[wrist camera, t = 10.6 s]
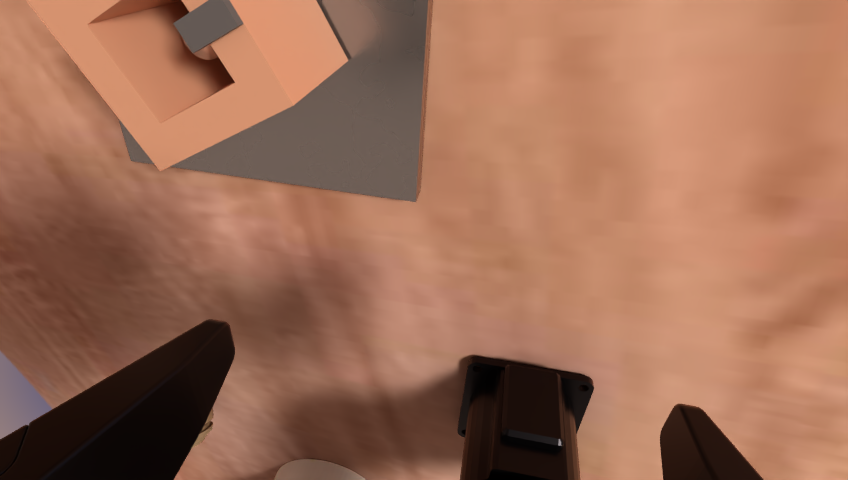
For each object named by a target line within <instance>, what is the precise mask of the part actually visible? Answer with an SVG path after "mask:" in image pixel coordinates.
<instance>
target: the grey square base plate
mask: <svg viewBox="0 0 848 480" xmlns="http://www.w3.org/2000/svg"><path fill="white" fill-rule="evenodd" d="M316 1H317V2H318V4H319V6H320V8H321V10H322V12H323V14H324V16H325V17H326V19H327V21H328V23H329V25H330V27H331V29H332V31H333V33H334V34H335V36H336V38H337V40H338V42H339V44H340V46H341V48H342V49H343V51H344V53H345V55H346V57H347V59H348V61H347V62H346V63H345V64H344V65H343V66H341V67H340V68H339V69H338V70H336V71H335V72H334V73H333V74H332V75H330V76H329V77H328V78H327V79H325V80H324V81H323V82H322V83H321V84H319V85H318V86H317V87H316V88H314V89H313V90H312V91H311V92H309V93H308V94H307V95H306V96H305V97H303V98H302V99H301V100H300V101H298V102H297V103H296V104H295V105H294V106H292V107H289V108H287V109H285V110H283V111H281V112H279V113H277V114H275V115H273V116H271V117H269V118H267V119H265V120H263V121H261V122H259V123H257V124H255V125H253V126H251V127H249V128H247V129H245V130H243V131H241V132H239V133H237V134H235V135H233V136H231V137H229V138H227V139H225V140H223V141H221V142H219V143H217V144H214V145H212V146H210V147H208V148H206V149H204V150H202V151H200V152H198V153H196V154H194V155H192V156H190V157H188V158H186V159H184V160H182V161H180V162H178V163H176V164H174V165H172V166H170V167H176V168H183V169H190V170H197V171H204V172H211V173H218V174H225V175H232V176H239V177H245V178H252V179H259V180H266V181H273V182H280V183H287V184H294V185H301V186H308V187H315V188H322V189H329V190H336V191H343V192H350V193H356V194H363V195H370V196H377V197H384V198H391V199H398V200H405V201H412V202H416V201H417V198H418V196H419V193H420V188H421V173H422V157H423V142H424V127H425V112H426V96H427V81H428V66H429V51H430V35H431V20H432V5H433V0H316ZM182 38H183V37H182ZM183 41H184V43H185V45H186V46H187V48H188V49H189V50H190V51H191V49H190V48H189V46H188V45H187V43H186V42H185V40H184V39H183ZM191 52H192V51H191ZM192 53H193V52H192ZM193 54H194V55H196V56H197V57H199V58H202V59H205V60H212V59H215V58H217V57H218V55H217V54H216V52H215V51H214V49H213V48H212V46H211V45H210V44H209V45H208V46H206V47H204V48H203V49H201V50H199V51H197V52H195V53H193ZM118 119H119V118H118ZM119 122H120V125H121V129H122V132H123V135H124V139H125V142H126V145H127V149H128V152H129V156H130V159H131V161H134V162H141V163H148V164H154V163H153V162H152V160H151V159H150V158H149V156H148V155H147V154H146V153H145V151H144V150H143V149H142V148H141V146H140V145H139V144H138V142H137V141H136V140H135V139H134V137H133V136H132V135H131V134H130V132H129V131H128V130H127V128H126V127H125V126H124V125H123V123H122V122H121V121H120V120H119Z"/></svg>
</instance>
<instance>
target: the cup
mask: <svg viewBox="0 0 848 480" xmlns="http://www.w3.org/2000/svg"><path fill="white" fill-rule="evenodd" d="M274 480H366V479H365V478H363V477H362V476H360V475H359V474H357V473H356V472H354V471H352V470H350V469H348V468H346V467H343V466H341V465H338V464H335V463H331V462H327V461H323V460H316V459H299V460H294V461H290V462H288V463H286V464H284V465H283V466H281V467H280V469H279V470H278V472H277V474H276V476H275V478H274Z"/></svg>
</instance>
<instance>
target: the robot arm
mask: <svg viewBox="0 0 848 480" xmlns="http://www.w3.org/2000/svg"><path fill="white" fill-rule="evenodd" d="M234 355H235V347H234V342H233V338H232V333H231V329H230V325H229V324H228V323H227V322H224V321H218V320H213V319H209V320H206V321H204V322H202V323H201V324H199V325H197V326H195V327H194V328H192V329H190V330H188V331H187V332H185V333H183V334H182V335H180V336H178V337H176V338H175V339H173V340H171V341H170V342H168V343H166V344H164V345H163V346H161V347H159V348H157V349H156V350H154V351H152V352H151V353H149V354H147V355H145V356H144V357H142V358H140V359H139V360H137V361H135V362H133V363H132V364H130V365H128V366H126V367H125V368H123V369H121V370H120V371H118V372H116V373H114V374H113V375H111V376H109V377H107V378H106V379H104V380H102V381H101V382H99V383H97V384H95V385H94V386H92V387H90V388H89V389H87V390H85V391H83V392H82V393H80V394H78V395H76V396H75V397H73V398H71V399H70V400H68V401H66V402H64V403H63V404H61V405H59V406H58V407H56V408H54V409H52V410H51V411H49V412H47V413H45V414H44V415H42V416H40V417H39V418H37V419H35V420H33V421H32V422H30V424H29V426H28V425H25V426H23V427H21V428H19V429H18V430H16V431H14V432H12V433H11V434H9V435H7V436H6V437H4V438H2V439H0V480H174V478H175V476H176V475H177V473H178V471H179V469H180V468H181V466H182V464H183V462H184V461H185V459H186V457H187V455H188V454H189V452H190V450H191V448H192V447H193V445H194V443H195V441H196V440H197V438H198V436H199V434H200V432H201V431H202V429H203V427H204V425H205V423H206V421H207V419H208V416H209V414H210V412H211V410H212V407H213V405H214V403H215V401H216V398H217V396H218V394H219V391H220V389H221V387H222V385H223V382H224V380H225V378H226V376H227V373H228V371H229V369H230V366H231V364H232V362H233V359H234ZM477 366H480V367H477ZM593 390H594V386H593V381H592V379H591V378H590V377H588V376H584V375H578V374H573V373H567V372H561V371H556V370H550V369H544V368H539V367H533V366H528V365H522V364H516V363H511V362H505V361H499V360H494V359H488V358H482V357H473V358H471V359H470V360H469V363H468V369H467V375H466V381H465V387H464V393H463V400H462V406H461V412H460V418H459V424H458V434H459V435H460V436H462V437H465V443H464V451H463V459H462V467H461V475H460V480H580V470H579V459H578V448H577V436H576V434H577V431H578V429H579V426H580V424H581V421H582V418H583V416H584V413H585V411H586V408H587V406H588V403H589V400H590V398H591V395H592V393H593ZM660 447H661V458H662V469H663V480H764V479H763V478H762V477H761V476H760V475H759V474H758V473H757V471H756V470H755V469H754V468H753V467H752V466H751V465H750V463H749V462H748V461H747V460H746V459H745V458H744V456H743V455H742V454H741V453H740V452H739V451H738V450H737V448H736V447H735V446H734V445H733V444H732V443H731V442H730V440H729V439H728V438H727V437H726V436H725V435H724V434H723V432H722V431H721V430H720V429H719V428H718V427H717V425H716V424H715V423H714V422H713V421H712V420H711V419H710V417H709V416H708V415H707V414H706V413H705V412H704V411H703V410H702V409H701V408H699V407H696V406H691V405H685V404H677V405H675V406H674V408H673V409H672V411H671V413H670V415H669V417H668V418H667V420H666V422H665V424H664V426H663V428H662V430H661V434H660Z"/></svg>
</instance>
